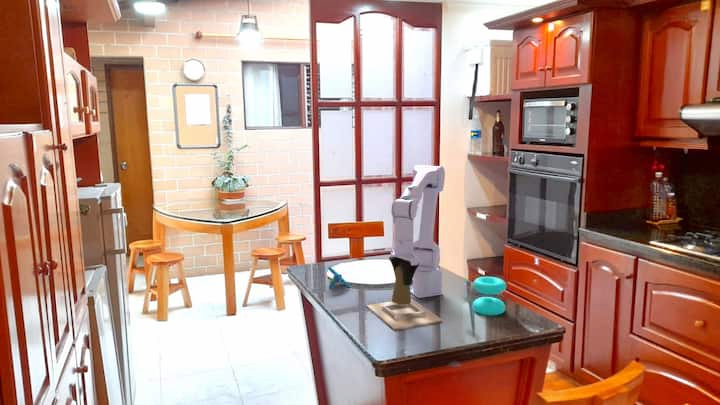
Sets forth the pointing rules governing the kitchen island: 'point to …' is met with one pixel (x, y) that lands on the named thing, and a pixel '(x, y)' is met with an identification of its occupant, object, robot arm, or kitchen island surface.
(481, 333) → the kitchen island surface
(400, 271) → the cork
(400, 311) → the socket board
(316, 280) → the kitchen island surface
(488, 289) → the donuts
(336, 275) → the teal angled piece
